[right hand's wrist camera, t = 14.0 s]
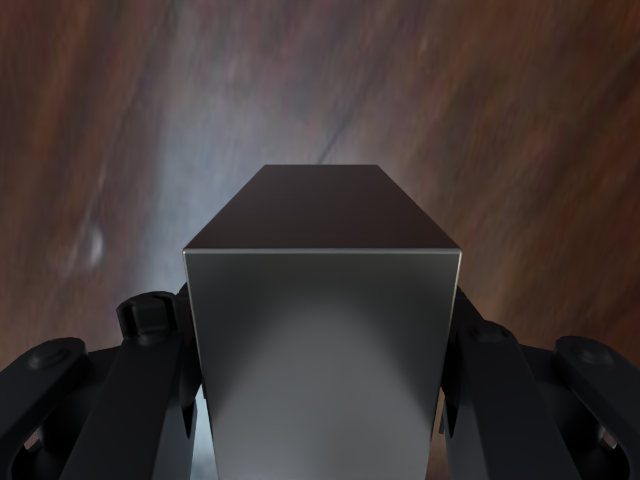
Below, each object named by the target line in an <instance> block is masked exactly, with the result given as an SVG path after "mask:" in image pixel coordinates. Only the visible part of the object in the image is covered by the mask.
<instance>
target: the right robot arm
mask: <svg viewBox="0 0 640 480" xmlns="http://www.w3.org/2000/svg"><path fill="white" fill-rule="evenodd" d="M116 312H117V315H118V319H119V323H120V327H121V331H122V335H123V339H124V340H123V342H122V344H121V346H117V347H113V348H108V349H103V350H98V351H93V352H87V348H86V345H85V342H83V341H82V340H81V339H79V338H73V337H68V338H58V339H53V340H51V341H50V340H49V341H46V342H44V343H42V344H40V345H38V346H36V347H33V348H31V349H30V350H28V351H27V352H25V353H24V354H22V355H21V356H19V357H18V358H17V359H16V360H15V361H13V362H12V363H11V364H10V365H9V366H7V367H6V368H5V369H4V370H3V371H1V372H0V480H190V474H191V465H192V456H193V447H194V438H195V429H196V420H197V405H196V399H195V397H196V394H197V392H198V390H199V387H200V385H201V384H202V390H203V396H204V399H206V397H205V391H204V385H203V379H202V372H201V366H200V360H199V354H198V347H197V341H196V335H195V329H194V322H193V316H192V310H191V304H190V297H189V291H188V285H187V282H186V283H185V284H184V285H183V287H182V288H181V289H180V291H179V293H177V295H174V294H173V293H170V292H165V291H153V292H148V293H143V294H140V295H137V296H134V297H131V298H129V299H128V300H126V301H124V302H123V303H121V304H120V305H119V307H118V308H117V309H116ZM441 388H442V390H443V392H444V394H445V399H444V405H443V411H442V416H441V422H440V428H439V433H440V434H443V433H444V429H445V437H446V446H447V455H448V464H449V473H450V480H640V370H639V369H638V368H637V367H636V366H634V365H633V364H632V363H631V362H629V361H628V360H627V359H626V358H625V357H623V356H622V355H621V354H619V353H618V352H616V351H615V350H613V349H612V348H610V347H609V346H606V345H604V344H602V343H600V342H598V341H596V340H593V339H589V338H585V337H578V336H565V337H561V338H559V339H558V340H557V341H556V343H555V346H554V349H553V351H550V350H545V349H540V348H535V347H530V346H525V345H521V344H519V343H518V341H517V339H516V338H515V336H514V335H513V334H512V333H511V332H510V331H509V330H507V329H506V328H505V327H503V326H501V325H499V324H496V323H494V322H492V321H487V320H484V319H483V318H482V316H481V315H480V314H479V312H478V311H477V310H476V308H475V307H474V306H473V305H472V303H471V302H470V301H469V299H467V297H466V295H465V294H464V293H463V292H461V289H460V288H459V286H458V285H457V289H456V295H455V301H454V307H453V313H452V319H451V325H450V331H449V337H448V343H447V349H446V355H445V361H444V367H443V373H442V379H441ZM605 429H606V430H607V431H608V432H609V434H610V435H611V436H612V437H613V438H614V439H615V440H616V441H617V445H616V447H615V448H614V449H613V448H612V447H611V446H610V445H608V444H607V442H606V441H605V440H604V439H603V438H602V435H603V433H604V431H605ZM35 431H36V432H37V435H38V437H39V439H38V440H37V441H36V442H35V444H34V445H33V446H31V447H30V448H29V449H28V450H26V449H25V446H24V443H25V442H26V441H27V440H28V439H29V438H30V436H31V435H32V434H33V433H34V432H35Z"/></svg>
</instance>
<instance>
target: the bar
mask: <svg viewBox="0 0 640 480" xmlns="http://www.w3.org/2000/svg"><path fill="white" fill-rule="evenodd" d="M182 254H183V260H184V266H185V272H186V279H187V285H188V291H189V297H190V304H191V310H192V316H193V322H194V329H195V335H196V341H197V347H198V354H199V360H200V366H201V372H202V379H203V385H204V391H205V397H206V404H207V410H208V416H209V422H210V429H211V435H212V441H213V447H214V454H215V460H216V466H217V472H218V479H219V480H425V475H426V469H427V463H428V457H429V451H430V445H431V439H432V433H433V427H434V421H435V415H436V409H437V403H438V397H439V391H440V385H441V379H442V373H443V367H444V361H445V355H446V349H447V343H448V337H449V331H450V325H451V319H452V313H453V307H454V301H455V295H456V289H457V283H458V277H459V271H460V265H461V259H462V249H461V248H460V247H459V246H458V245H457V244H456V243H455V242H454V241H453V240H452V239H451V238H450V237H449V236H448V235H447V234H446V233H445V232H444V231H443V230H442V229H441V228H440V227H439V226H438V225H437V224H436V223H435V222H434V221H433V220H432V219H431V218H430V217H429V216H428V215H427V214H426V213H425V212H424V211H423V210H422V209H421V208H420V207H419V206H418V205H417V204H416V203H415V202H414V201H413V200H412V199H411V198H410V197H409V196H408V195H407V194H406V193H405V192H404V191H403V190H402V189H401V188H400V187H399V186H398V185H397V184H396V183H395V182H394V181H393V180H392V179H391V178H390V177H389V176H388V175H387V174H386V173H385V172H384V171H383V170H382V169H381V168H380V167H379V166H378V165H264V166H263V167H262V168H261V169H260V170H259V171H258V172H257V173H256V174H255V175H254V176H253V177H252V178H251V179H250V181H249V182H248V183H247V184H246V185H245V186H244V187H243V188H242V189H241V190H240V191H239V192H238V193H237V194H236V195H235V196H234V197H233V198H232V199H231V200H230V201H229V202H228V203H227V204H226V205H225V206H224V207H223V208H222V209H221V210H220V211H219V213H218V214H217V215H216V216H215V217H214V218H213V219H212V220H211V221H210V222H209V223H208V224H207V225H206V226H205V227H204V228H203V229H202V230H201V231H200V232H199V233H198V234H197V235H196V236H195V237H194V238H193V239H192V240H191V241H190V242H189V244H188V245H187V246H186V247H185V248H184V249H183V252H182Z"/></svg>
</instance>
